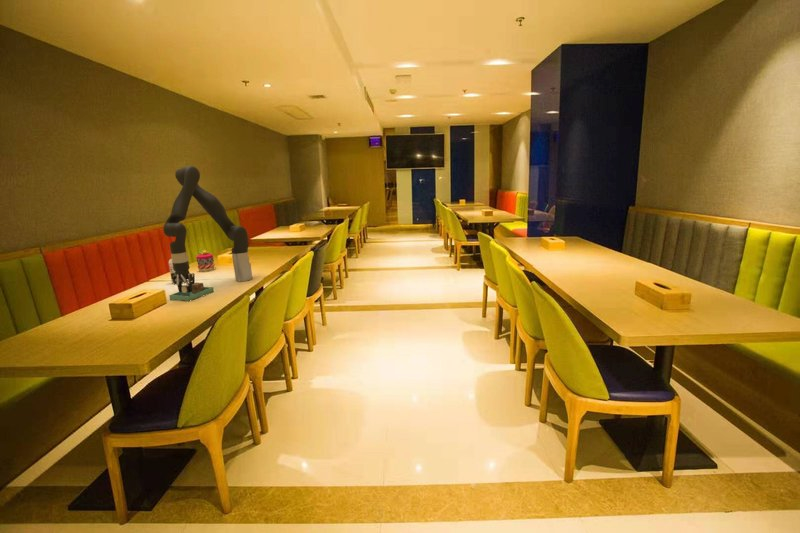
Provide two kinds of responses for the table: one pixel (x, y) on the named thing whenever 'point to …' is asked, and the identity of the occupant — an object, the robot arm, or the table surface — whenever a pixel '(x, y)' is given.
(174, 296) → the tray
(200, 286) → the walnut block
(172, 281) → the supplement can
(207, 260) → the cake
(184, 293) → the metal peg
